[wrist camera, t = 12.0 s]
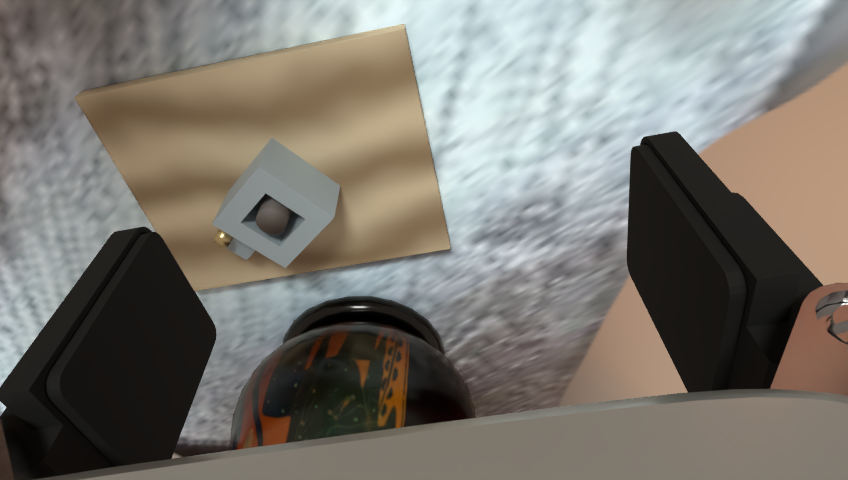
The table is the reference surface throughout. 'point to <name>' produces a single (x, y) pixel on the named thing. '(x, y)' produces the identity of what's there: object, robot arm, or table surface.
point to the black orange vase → (350, 377)
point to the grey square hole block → (289, 186)
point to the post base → (296, 130)
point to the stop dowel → (222, 239)
